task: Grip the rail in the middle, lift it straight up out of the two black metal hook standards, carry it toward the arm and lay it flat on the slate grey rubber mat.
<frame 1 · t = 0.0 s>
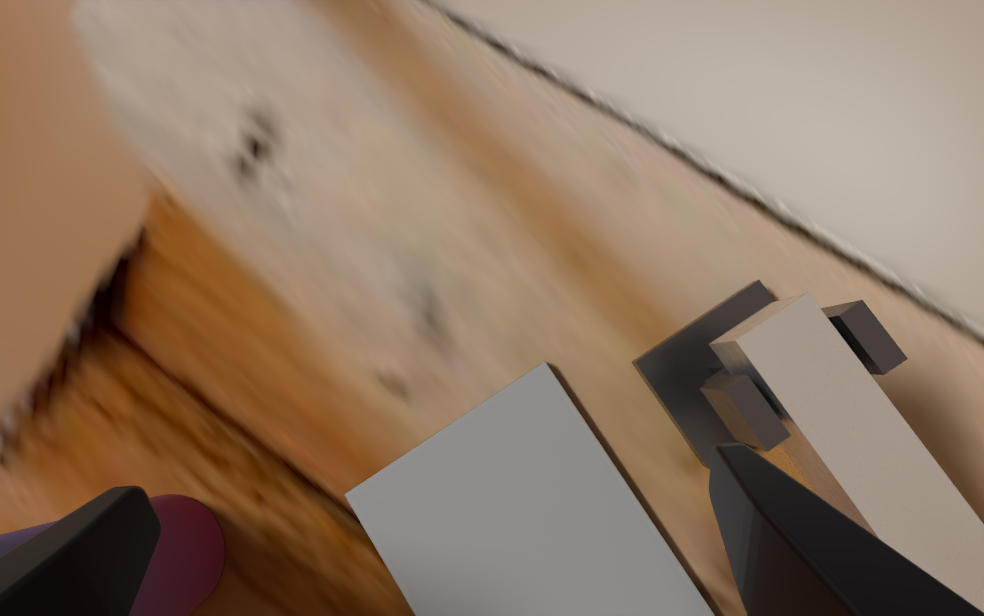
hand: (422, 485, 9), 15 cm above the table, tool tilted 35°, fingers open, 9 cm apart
standards: (874, 578, 22), on the table
cup: (172, 552, 24), on the table
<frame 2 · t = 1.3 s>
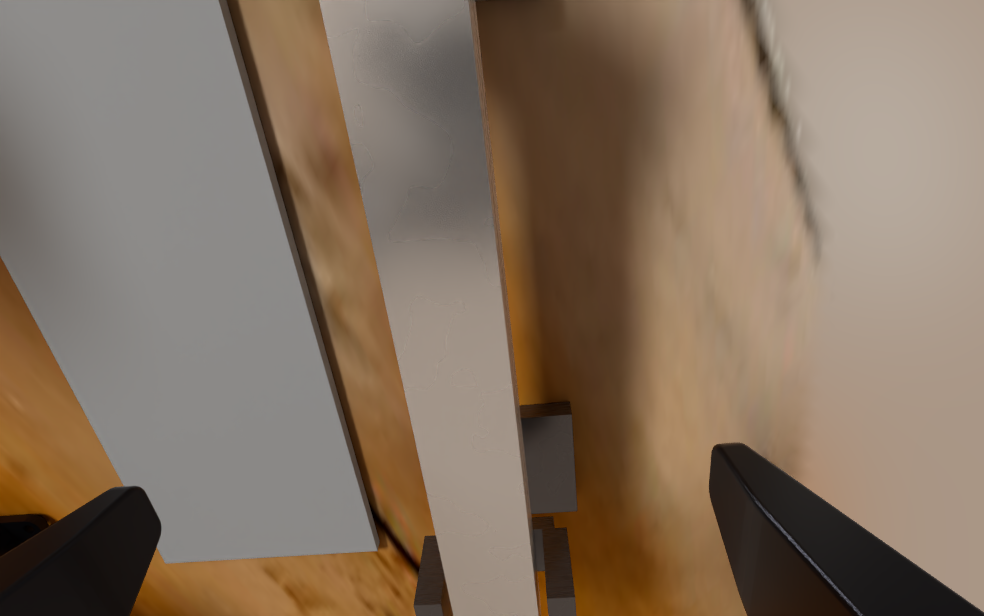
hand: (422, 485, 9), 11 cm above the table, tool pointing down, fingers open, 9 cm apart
rail: (460, 300, 15), point 5 cm above the table, touching standards
standards: (470, 240, 19), on the table
mat: (161, 270, 20), on the table
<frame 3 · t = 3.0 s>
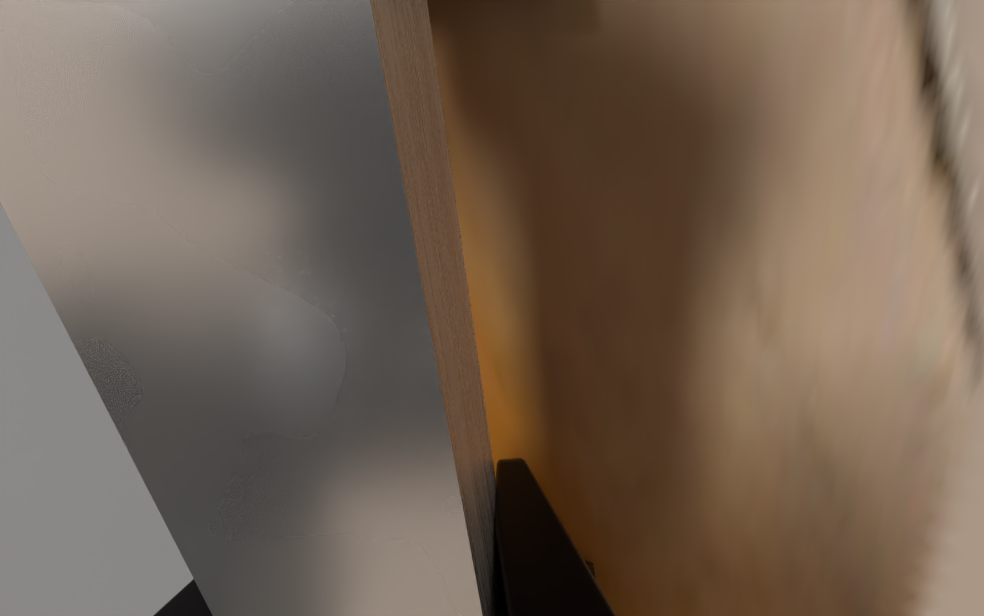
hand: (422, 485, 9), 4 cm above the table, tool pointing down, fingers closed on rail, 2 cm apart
rail: (415, 523, 8), point 5 cm above the table, touching gripper, standards
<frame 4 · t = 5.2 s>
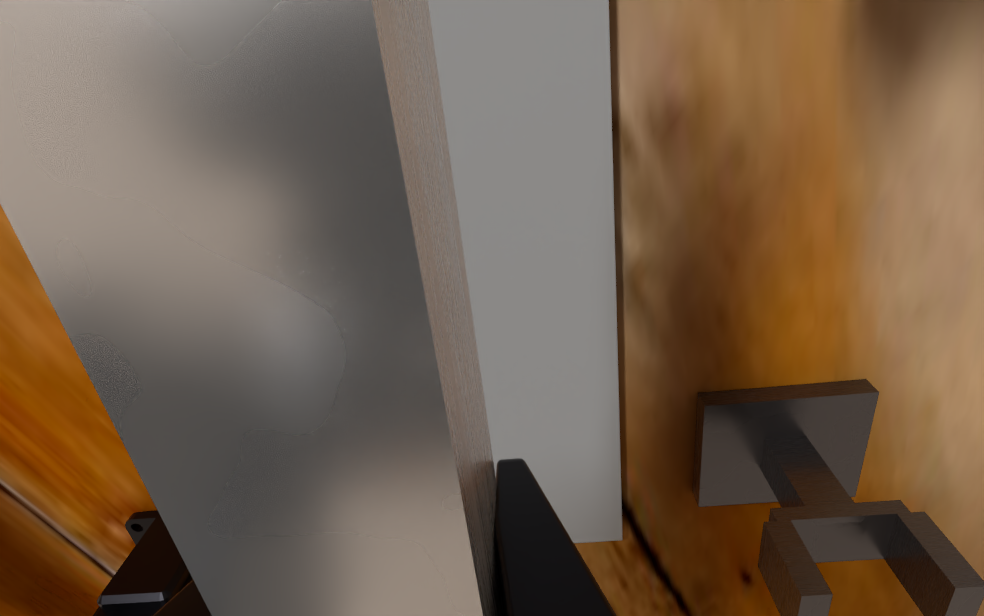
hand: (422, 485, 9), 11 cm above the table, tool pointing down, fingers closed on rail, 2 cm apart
rail: (414, 522, 8), point 12 cm above the table, touching gripper
standards: (805, 202, 17), on the table
mat: (458, 239, 18), on the table
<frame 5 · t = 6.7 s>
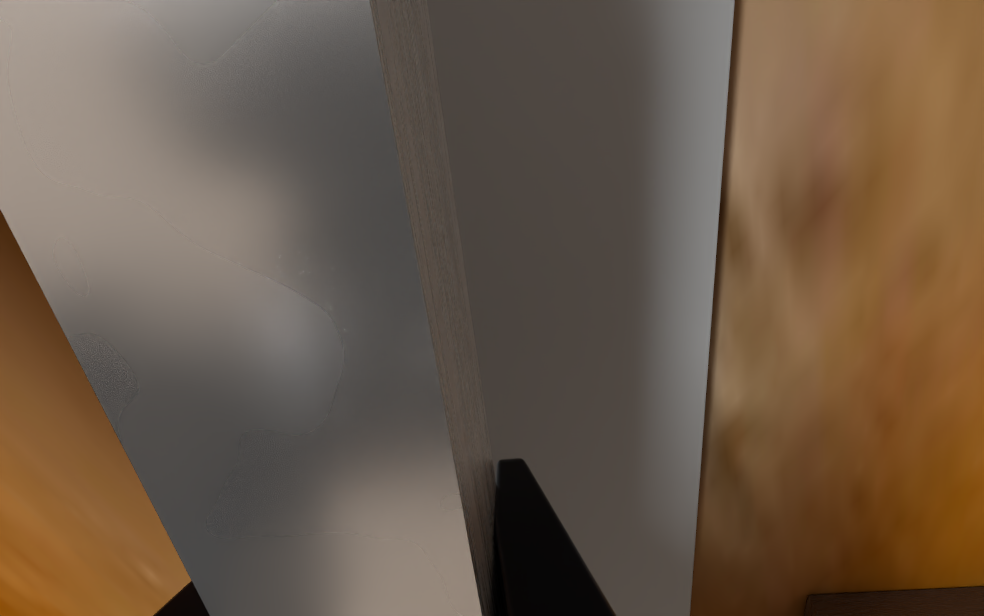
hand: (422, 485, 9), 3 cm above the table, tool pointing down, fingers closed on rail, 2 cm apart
rail: (414, 522, 8), point 3 cm above the table, touching gripper
mat: (442, 383, 11), on the table
when the fingers open (1 cm above the table, at t = 7.6 s): rail drops 2 cm, resting on mat.
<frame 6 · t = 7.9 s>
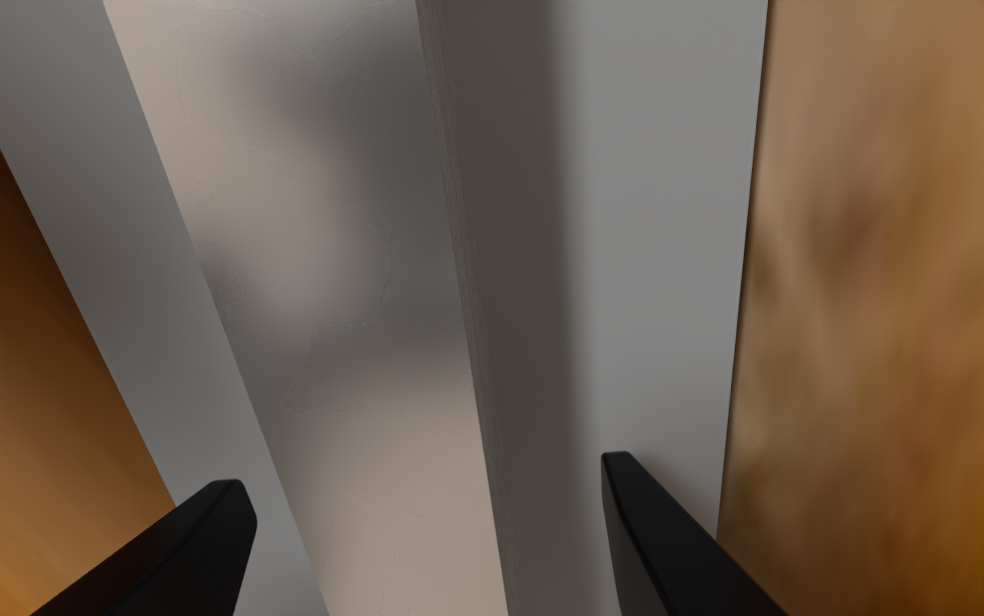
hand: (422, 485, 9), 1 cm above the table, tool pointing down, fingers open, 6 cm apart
rail: (429, 442, 10), resting on mat
mat: (434, 424, 10), on the table
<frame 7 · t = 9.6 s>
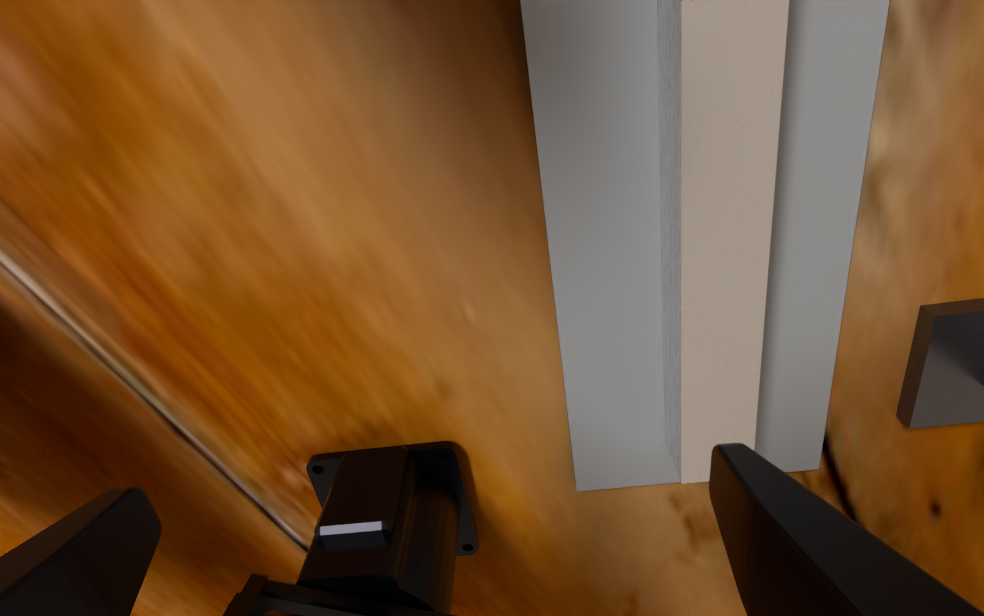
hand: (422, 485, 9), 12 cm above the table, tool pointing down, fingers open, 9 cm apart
rail: (700, 145, 17), resting on mat
mat: (696, 142, 18), on the table
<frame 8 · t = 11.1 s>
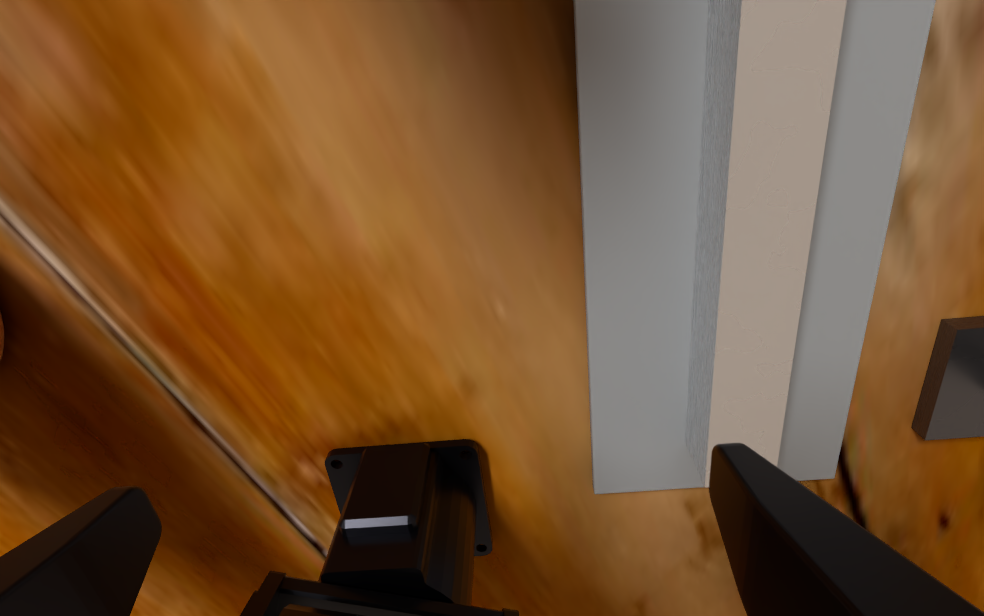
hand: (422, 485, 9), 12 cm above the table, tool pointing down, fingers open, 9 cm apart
rail: (740, 153, 18), resting on mat
mat: (735, 150, 18), on the table
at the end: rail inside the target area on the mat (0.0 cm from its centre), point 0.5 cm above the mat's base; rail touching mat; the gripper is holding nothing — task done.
